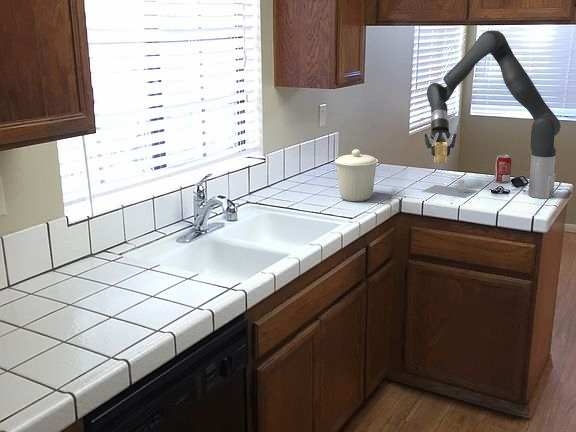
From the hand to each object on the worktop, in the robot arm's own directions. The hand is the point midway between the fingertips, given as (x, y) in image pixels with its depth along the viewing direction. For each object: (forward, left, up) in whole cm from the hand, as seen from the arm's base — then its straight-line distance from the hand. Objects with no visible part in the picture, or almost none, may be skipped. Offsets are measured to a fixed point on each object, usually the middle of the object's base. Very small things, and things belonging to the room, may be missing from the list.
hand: (440, 155), depth 268 cm
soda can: (-14, -36, -17) cm, 42 cm away
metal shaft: (-9, -2, -15) cm, 18 cm away
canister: (+26, +25, -17) cm, 40 cm away
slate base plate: (-4, -2, -17) cm, 18 cm away
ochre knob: (+1, -2, -3) cm, 4 cm away
